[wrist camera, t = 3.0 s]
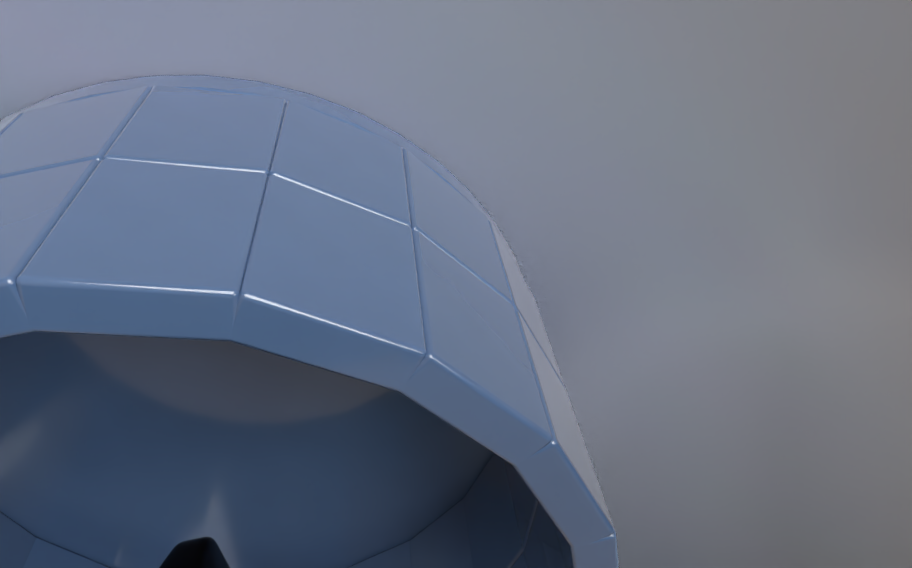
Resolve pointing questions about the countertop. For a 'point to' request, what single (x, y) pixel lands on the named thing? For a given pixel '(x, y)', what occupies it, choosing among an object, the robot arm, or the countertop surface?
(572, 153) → the countertop surface
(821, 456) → the countertop surface
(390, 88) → the countertop surface
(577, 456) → the rice bowl
